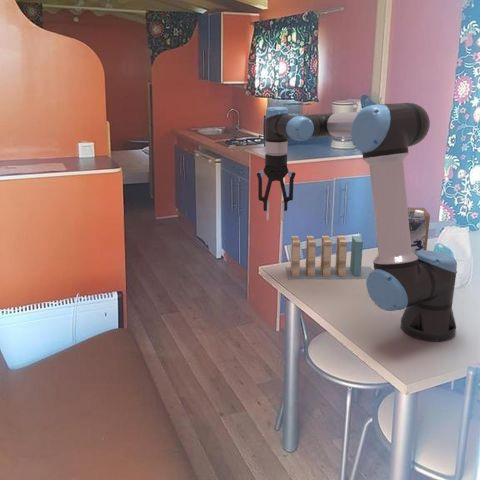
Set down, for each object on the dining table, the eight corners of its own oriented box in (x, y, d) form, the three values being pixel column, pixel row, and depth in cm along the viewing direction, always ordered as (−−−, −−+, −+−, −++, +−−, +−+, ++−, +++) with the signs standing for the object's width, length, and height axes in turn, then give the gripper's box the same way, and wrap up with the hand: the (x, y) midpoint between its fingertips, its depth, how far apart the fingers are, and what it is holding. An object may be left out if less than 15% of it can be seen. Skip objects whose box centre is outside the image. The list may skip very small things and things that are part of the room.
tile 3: (329, 276, 200) (331, 241, 196) (323, 276, 200) (324, 242, 196) (326, 269, 207) (328, 235, 203) (320, 269, 207) (321, 235, 203)
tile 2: (314, 276, 200) (315, 242, 196) (307, 276, 200) (309, 242, 196) (312, 269, 207) (313, 236, 203) (305, 269, 207) (306, 236, 203)
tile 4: (345, 276, 200) (347, 241, 196) (338, 276, 200) (340, 241, 196) (341, 269, 207) (343, 235, 203) (335, 269, 207) (337, 235, 203)
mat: (378, 279, 198) (378, 278, 198) (288, 280, 198) (288, 279, 198) (370, 267, 210) (370, 266, 210) (285, 268, 209) (285, 267, 209)
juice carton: (392, 291, 189) (399, 213, 180) (392, 279, 198) (398, 205, 190) (420, 293, 187) (428, 215, 178) (418, 281, 196) (426, 207, 188)
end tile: (360, 276, 200) (362, 241, 196) (353, 276, 200) (356, 241, 196) (356, 269, 207) (358, 235, 203) (350, 269, 207) (352, 235, 203)
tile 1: (299, 276, 200) (300, 242, 196) (292, 276, 200) (293, 242, 196) (297, 269, 207) (298, 236, 203) (290, 269, 207) (291, 236, 203)
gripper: (300, 151, 194) (298, 216, 201) (250, 151, 194) (249, 216, 201) (303, 155, 187) (301, 222, 194) (250, 155, 186) (250, 222, 194)
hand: (275, 219), depth 197 cm, fingers open, 4 cm apart
